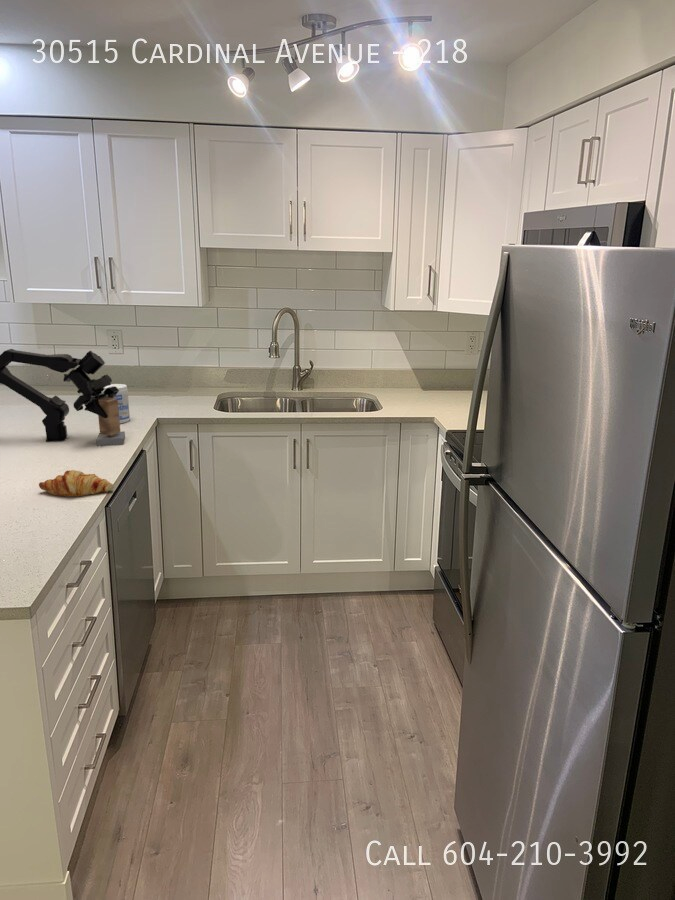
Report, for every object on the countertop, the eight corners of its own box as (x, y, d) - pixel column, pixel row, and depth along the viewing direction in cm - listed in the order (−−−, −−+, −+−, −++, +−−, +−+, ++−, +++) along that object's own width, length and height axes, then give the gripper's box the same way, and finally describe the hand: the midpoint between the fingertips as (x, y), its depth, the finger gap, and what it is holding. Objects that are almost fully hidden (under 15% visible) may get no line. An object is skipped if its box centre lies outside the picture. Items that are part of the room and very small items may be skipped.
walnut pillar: (100, 434, 236) (96, 400, 232) (109, 430, 240) (106, 397, 236) (111, 435, 234) (108, 401, 230) (120, 432, 238) (117, 398, 235)
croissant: (117, 499, 194) (118, 472, 196) (108, 495, 184) (110, 467, 186) (44, 499, 193) (46, 472, 194) (31, 495, 183) (33, 467, 184)
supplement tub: (117, 425, 260) (113, 389, 255) (100, 422, 264) (96, 386, 260) (135, 420, 268) (132, 385, 263) (118, 417, 272) (115, 382, 268)
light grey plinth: (97, 446, 233) (96, 439, 232) (99, 439, 241) (99, 432, 240) (123, 444, 235) (122, 438, 234) (125, 437, 243) (124, 431, 242)
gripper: (76, 373, 223) (106, 407, 223) (112, 364, 240) (139, 396, 239) (60, 393, 228) (89, 427, 228) (97, 383, 245) (123, 415, 244)
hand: (111, 415), depth 235 cm, fingers closed on walnut pillar, 5 cm apart
